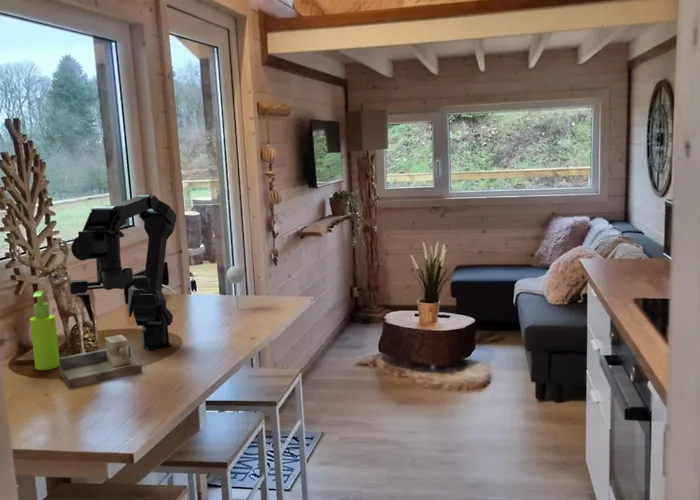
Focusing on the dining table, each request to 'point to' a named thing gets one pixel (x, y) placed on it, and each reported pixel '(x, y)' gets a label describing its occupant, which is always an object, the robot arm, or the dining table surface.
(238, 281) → the lollipop
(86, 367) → the grey stepped stand
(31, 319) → the soap dispenser
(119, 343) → the block
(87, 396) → the dining table surface
